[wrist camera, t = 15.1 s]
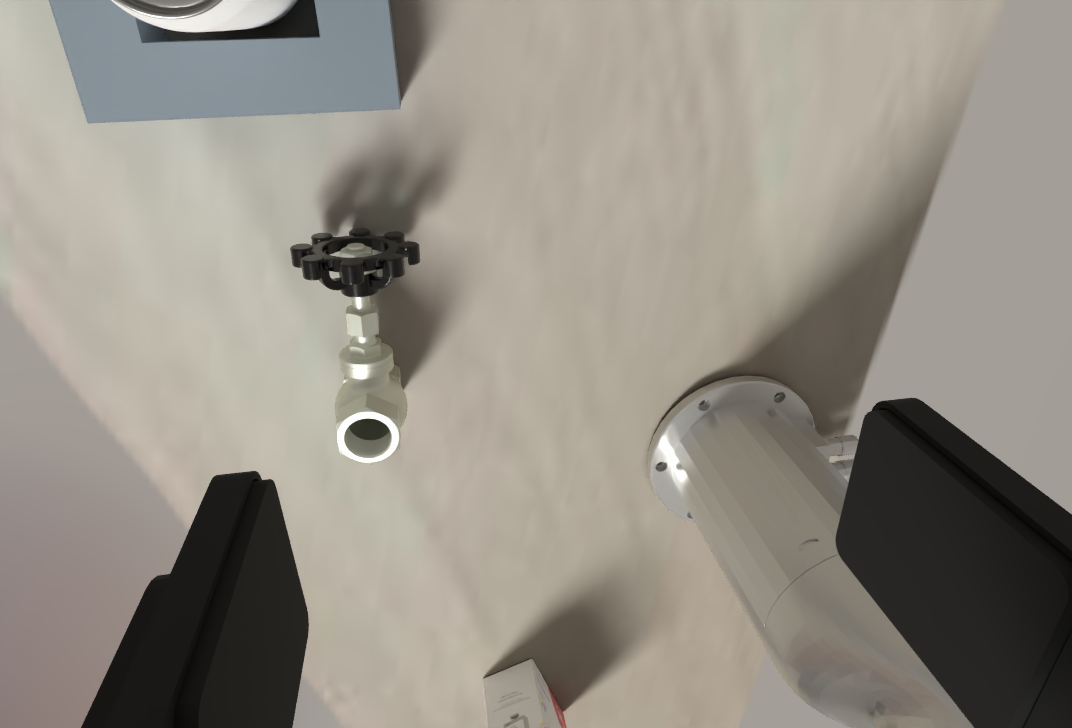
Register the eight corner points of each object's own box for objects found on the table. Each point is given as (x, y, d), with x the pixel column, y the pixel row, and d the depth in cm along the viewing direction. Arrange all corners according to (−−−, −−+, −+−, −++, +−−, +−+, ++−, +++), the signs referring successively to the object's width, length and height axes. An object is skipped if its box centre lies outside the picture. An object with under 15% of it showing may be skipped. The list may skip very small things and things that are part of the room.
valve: (428, 405, 44) (418, 226, 39) (430, 464, 38) (419, 263, 33) (324, 411, 43) (299, 228, 38) (310, 473, 37) (279, 267, 32)
